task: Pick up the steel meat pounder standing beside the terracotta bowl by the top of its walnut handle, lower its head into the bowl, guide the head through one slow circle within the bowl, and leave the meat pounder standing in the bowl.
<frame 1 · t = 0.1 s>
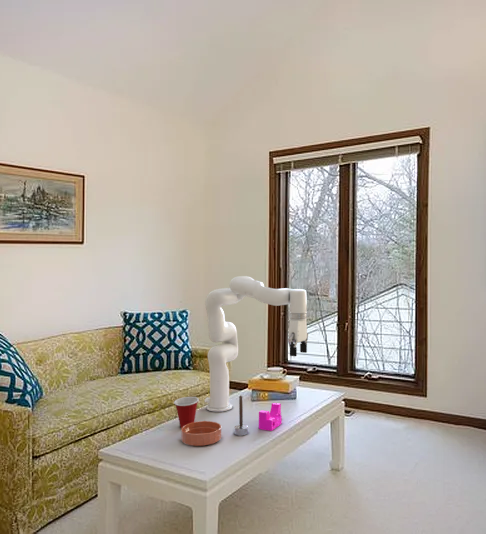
hand: (298, 354, 222), 31 cm above the table, tool pointing down, fingers open, 9 cm apart
plastic cup: (186, 427, 217), on the table
meat pounder: (241, 433, 209), on the table
toy block: (272, 425, 220), on the table
bowl: (201, 439, 201), on the table
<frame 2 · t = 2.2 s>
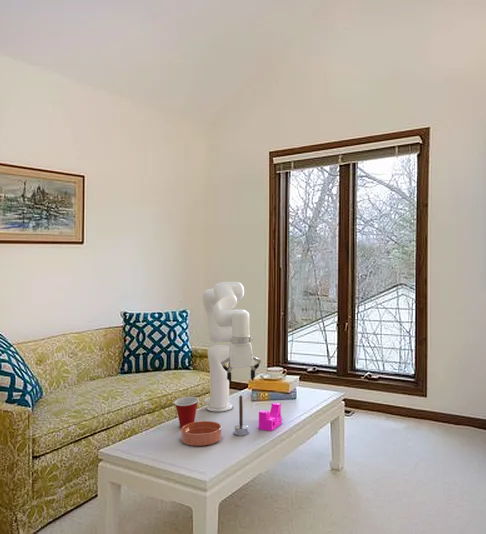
hand: (241, 380, 208), 23 cm above the table, tool pointing down, fingers open, 9 cm apart
nothing on the table moved.
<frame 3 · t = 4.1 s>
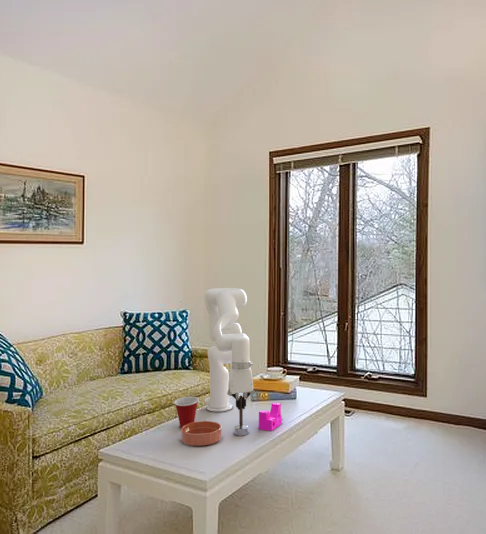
hand: (240, 408, 209), 11 cm above the table, tool pointing down, fingers closed on meat pounder
meat pounder: (241, 433, 209), on the table, touching gripper
everything else where it was.
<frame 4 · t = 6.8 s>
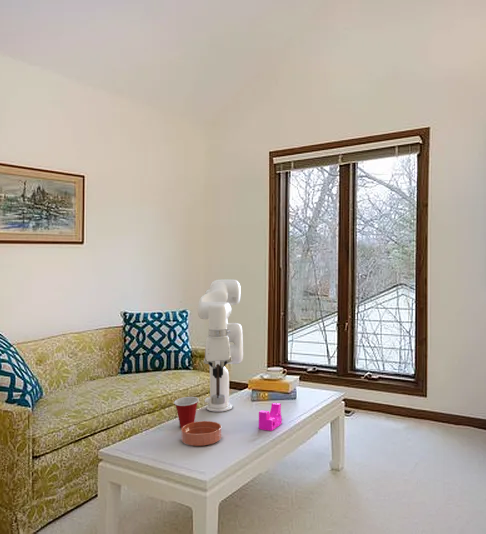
hand: (217, 377, 204), 25 cm above the table, tool pointing down, fingers closed on meat pounder
meat pounder: (218, 402, 204), point 14 cm above the table, touching gripper
everything else where it was.
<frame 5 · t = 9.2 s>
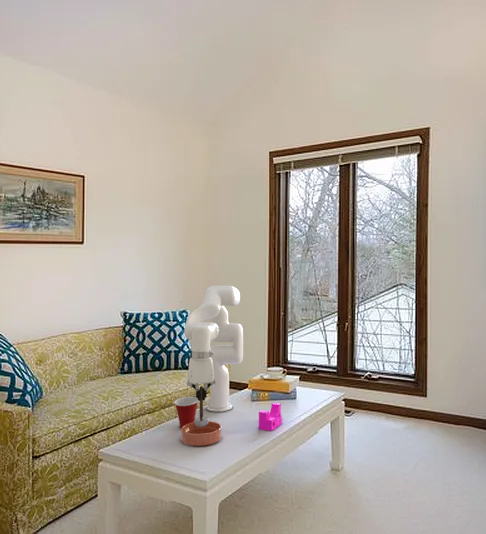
hand: (201, 399, 201), 17 cm above the table, tool pointing down, fingers closed on meat pounder
meat pounder: (201, 425, 201), point 6 cm above the table, touching gripper
everything else where it was.
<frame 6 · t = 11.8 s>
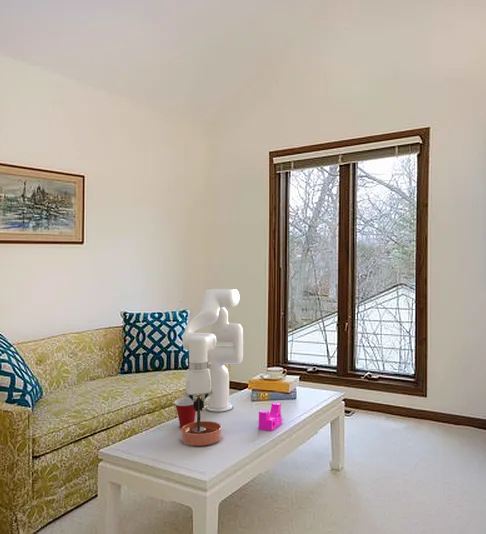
hand: (198, 409, 203), 12 cm above the table, tool pointing down, fingers closed on meat pounder
meat pounder: (198, 435, 203), point 1 cm above the table, touching gripper
everything else where it was.
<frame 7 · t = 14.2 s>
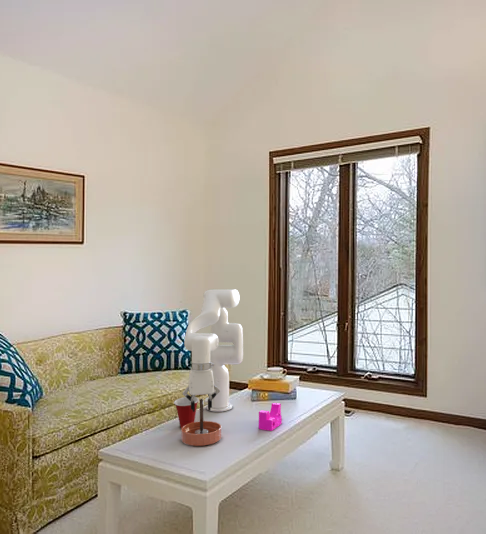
hand: (201, 409, 201), 12 cm above the table, tool pointing down, fingers open, 5 cm apart
meat pounder: (201, 438, 202), point 1 cm above the table, touching bowl
everything else where it was.
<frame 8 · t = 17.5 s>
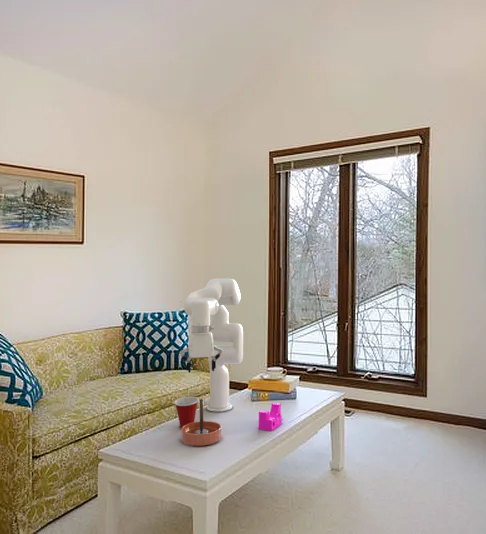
hand: (201, 371, 201), 28 cm above the table, tool pointing down, fingers open, 9 cm apart
nothing on the table moved.
at the end: meat pounder inside the target area in the bowl (0.1 cm from its centre), point 0.6 cm above the bowl's base; meat pounder tilted 0°; meat pounder moved 17.1 cm from its start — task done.
